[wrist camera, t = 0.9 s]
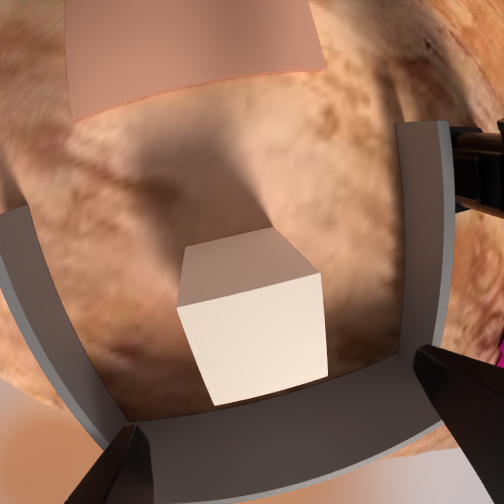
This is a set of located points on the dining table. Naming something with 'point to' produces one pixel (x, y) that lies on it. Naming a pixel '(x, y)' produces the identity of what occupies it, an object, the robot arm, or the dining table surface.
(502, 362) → the toy block
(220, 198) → the dining table surface
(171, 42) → the terracotta mat
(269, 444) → the open u-shaped enclosure
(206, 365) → the ivory block
